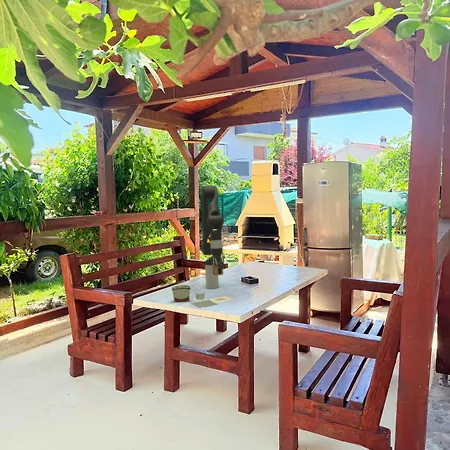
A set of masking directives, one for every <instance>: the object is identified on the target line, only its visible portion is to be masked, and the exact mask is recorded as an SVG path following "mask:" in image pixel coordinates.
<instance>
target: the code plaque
mask: <svg viewBox="0 0 450 450" xmlns="http://www.w3.org/2000/svg"><path fill="white" fill-rule="evenodd" d="M206 300H210V301H212V302H214V303H217V304H219V303H225V302H230V301H234V300H235V299H234V298H231V297H229V296H227V295H224V296H217V297H212V298H207V299H206ZM206 300H204V301H206Z"/></svg>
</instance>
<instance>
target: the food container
mask: <svg viewBox="0 0 450 450" xmlns="http://www.w3.org/2000/svg"><path fill="white" fill-rule="evenodd" d="M171 291H172V295H173V301H174V302H176V303H188V302H190V297H191V296H190V295H191V294H190V292H191V286H190V285H188V284H187V285H186V284H178V285H175V286H172V287H171Z"/></svg>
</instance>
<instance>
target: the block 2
mask: <svg viewBox="0 0 450 450" xmlns="http://www.w3.org/2000/svg"><path fill="white" fill-rule="evenodd" d="M212 271H213V275H216V276H218V277H219V276H222V275H224V267H223V268H222V274H218V266H217V265H212Z"/></svg>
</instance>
